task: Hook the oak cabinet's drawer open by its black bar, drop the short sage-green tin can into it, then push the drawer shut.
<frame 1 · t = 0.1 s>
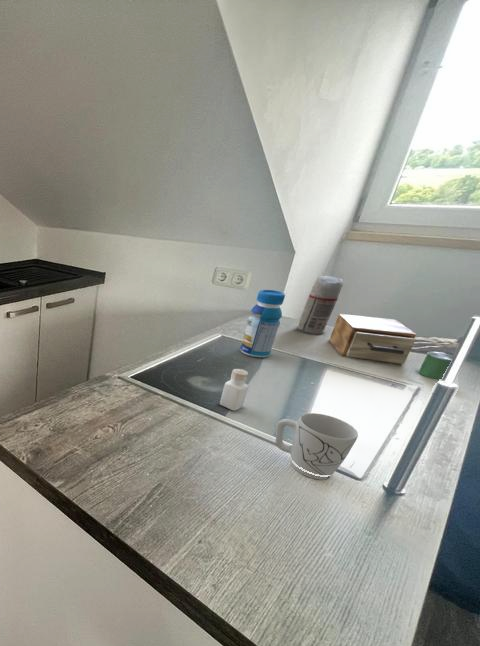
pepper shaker: (230, 406, 95), on the counter
spray can: (310, 331, 143), on the counter
tin can: (432, 374, 110), on the counter
drawer: (374, 343, 119), point 5 cm above the counter, slide at 1.0 cm
cabinet: (363, 351, 125), on the counter
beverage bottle: (254, 353, 125), on the counter
mug: (300, 465, 76), on the counter
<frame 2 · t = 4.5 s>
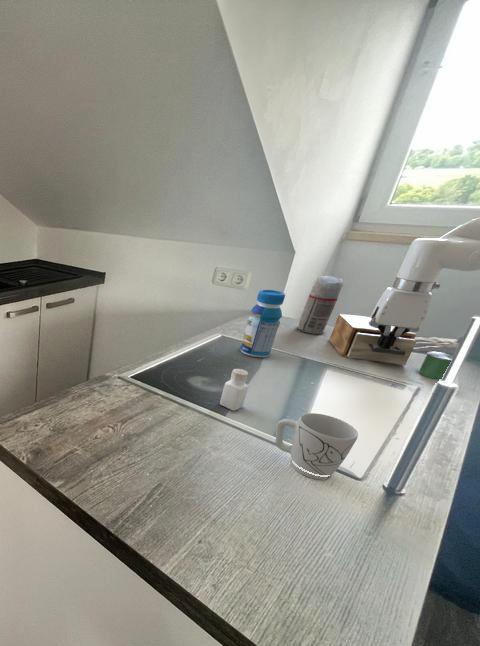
hand: (383, 347, 113), 6 cm above the counter, tool pointing down, fingers closed
drawer: (375, 344, 118), point 5 cm above the counter, slide at 2.0 cm, touching gripper
everything else where it was.
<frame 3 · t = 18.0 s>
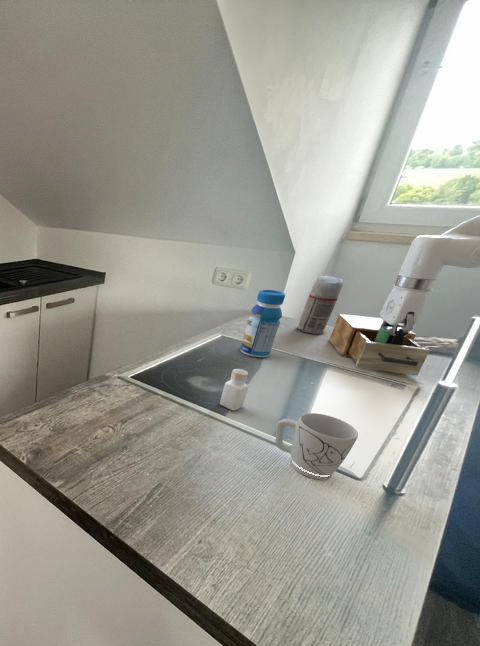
hand: (386, 344, 112), 7 cm above the counter, tool pointing down, fingers closed on tin can, 5 cm apart
tin can: (385, 348, 113), point 6 cm above the counter, touching gripper
drawer: (385, 353, 112), point 5 cm above the counter, slide at 9.5 cm, touching gripper
everything else where it was.
when the fingers open (7 cm above the counter, at t = 21.3 s): tin can drops 3 cm, resting on drawer.
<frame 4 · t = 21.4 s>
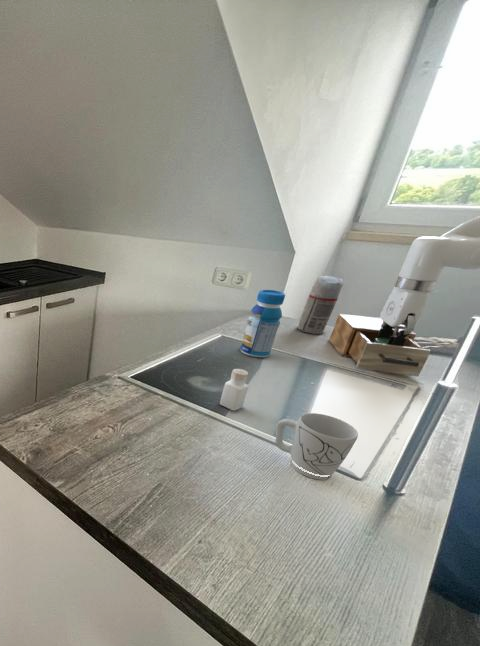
hand: (387, 345, 112), 7 cm above the counter, tool pointing down, fingers open, 6 cm apart
tin can: (380, 360, 114), point 2 cm above the counter, touching drawer
drawer: (386, 353, 112), point 5 cm above the counter, slide at 10.1 cm, touching gripper, tin can
everything else where it was.
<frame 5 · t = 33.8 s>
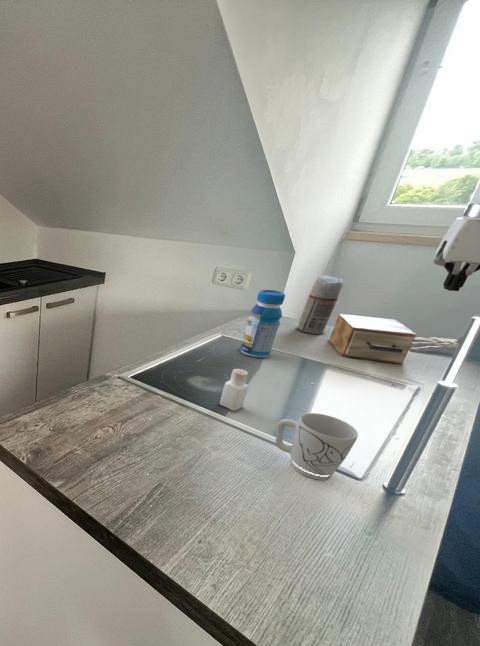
hand: (450, 289, 98), 25 cm above the counter, tool pointing down, fingers closed
tin can: (368, 348, 123), point 2 cm above the counter, touching drawer
drawer: (373, 342, 120), point 5 cm above the counter, slide at 0.0 cm, touching tin can
everything else where it was.
at the end: drawer pulled out 10.1 cm at the most during the clip, back to where it started at the end; tin can inside the target area in the cabinet (2.2 cm from its centre), point 2.0 cm above the cabinet's base; drawer slide at 0.0 cm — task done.
